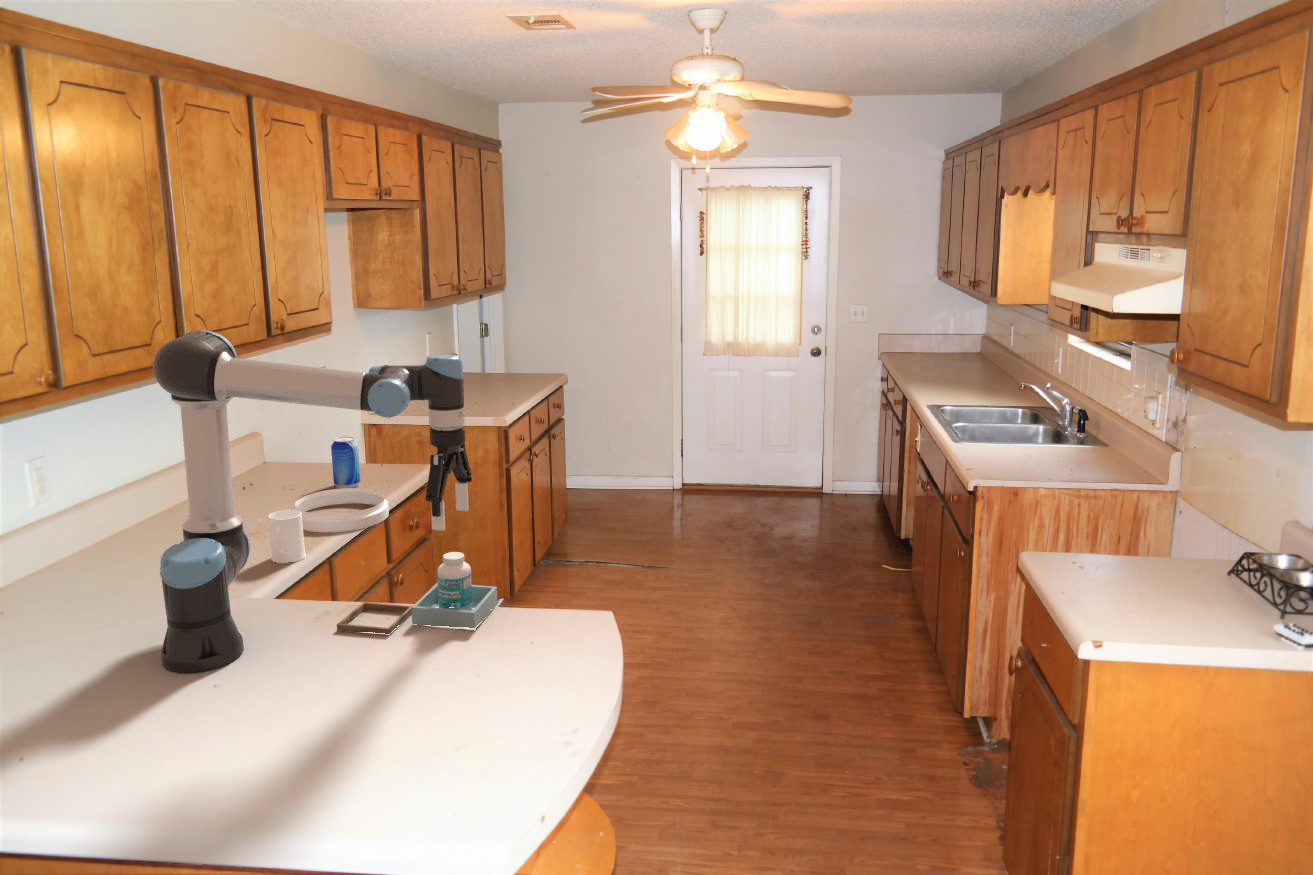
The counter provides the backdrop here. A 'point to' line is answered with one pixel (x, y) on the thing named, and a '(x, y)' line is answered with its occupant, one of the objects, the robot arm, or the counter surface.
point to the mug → (286, 536)
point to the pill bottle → (454, 582)
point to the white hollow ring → (345, 519)
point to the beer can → (345, 462)
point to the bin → (430, 615)
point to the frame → (405, 610)
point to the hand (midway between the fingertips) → (450, 519)
